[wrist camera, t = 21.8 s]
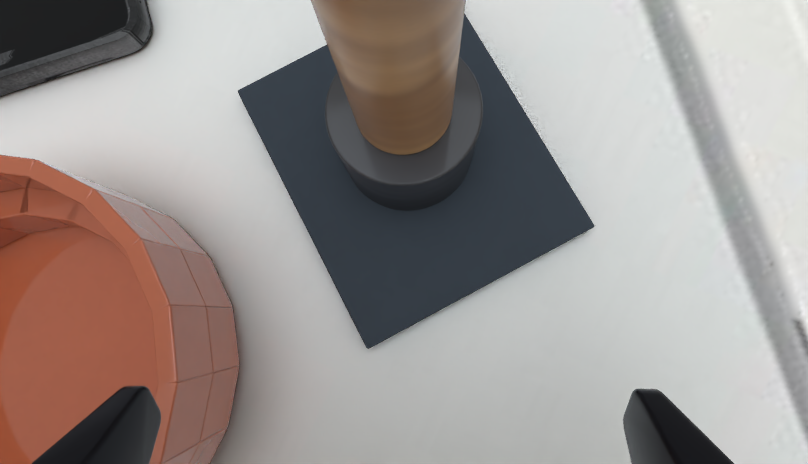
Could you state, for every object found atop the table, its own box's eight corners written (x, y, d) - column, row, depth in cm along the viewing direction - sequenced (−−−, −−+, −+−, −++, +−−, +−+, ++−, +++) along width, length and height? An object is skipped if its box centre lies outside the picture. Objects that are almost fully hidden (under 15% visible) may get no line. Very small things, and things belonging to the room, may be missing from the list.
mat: (590, 228, 20) (595, 226, 20) (368, 348, 20) (367, 349, 19) (445, -9, 22) (446, -18, 21) (242, 96, 22) (236, 90, 21)
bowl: (303, 446, 19) (255, 498, 14) (-35, 630, 19) (-223, 759, 13) (159, 136, 22) (69, 76, 16) (-145, 293, 21) (-343, 285, 16)
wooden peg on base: (437, 233, 20) (455, 82, 7) (321, 177, 20) (142, -57, 8) (494, 119, 20) (605, -211, 8) (380, 68, 21) (305, -319, 8)
